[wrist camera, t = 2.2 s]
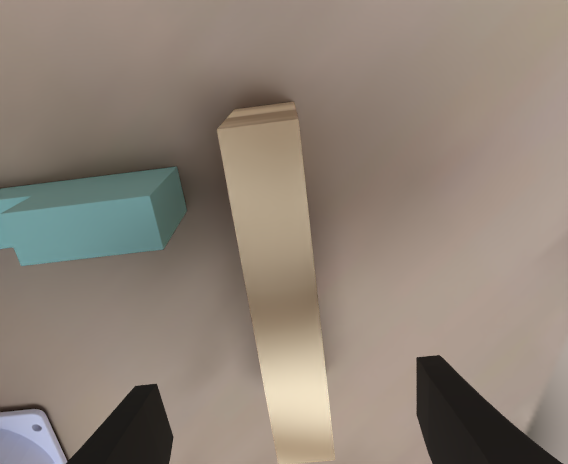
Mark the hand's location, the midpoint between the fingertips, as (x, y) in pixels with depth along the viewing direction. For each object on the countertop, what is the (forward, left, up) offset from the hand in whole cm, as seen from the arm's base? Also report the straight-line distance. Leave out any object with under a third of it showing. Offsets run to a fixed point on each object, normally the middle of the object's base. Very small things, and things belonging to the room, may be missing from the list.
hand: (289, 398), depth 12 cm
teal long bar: (+4, +11, -8) cm, 15 cm away
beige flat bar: (0, 0, -8) cm, 8 cm away
